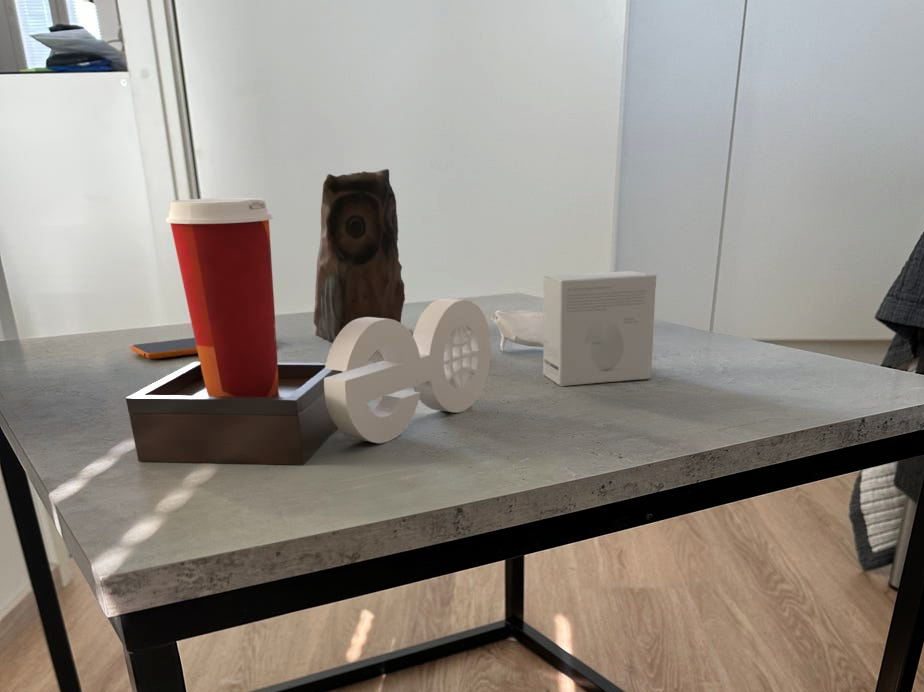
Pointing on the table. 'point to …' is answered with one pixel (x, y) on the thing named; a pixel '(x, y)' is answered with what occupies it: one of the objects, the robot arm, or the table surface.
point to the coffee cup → (229, 291)
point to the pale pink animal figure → (520, 327)
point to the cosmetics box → (598, 327)
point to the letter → (407, 368)
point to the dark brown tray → (232, 419)
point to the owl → (357, 253)
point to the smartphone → (166, 348)
